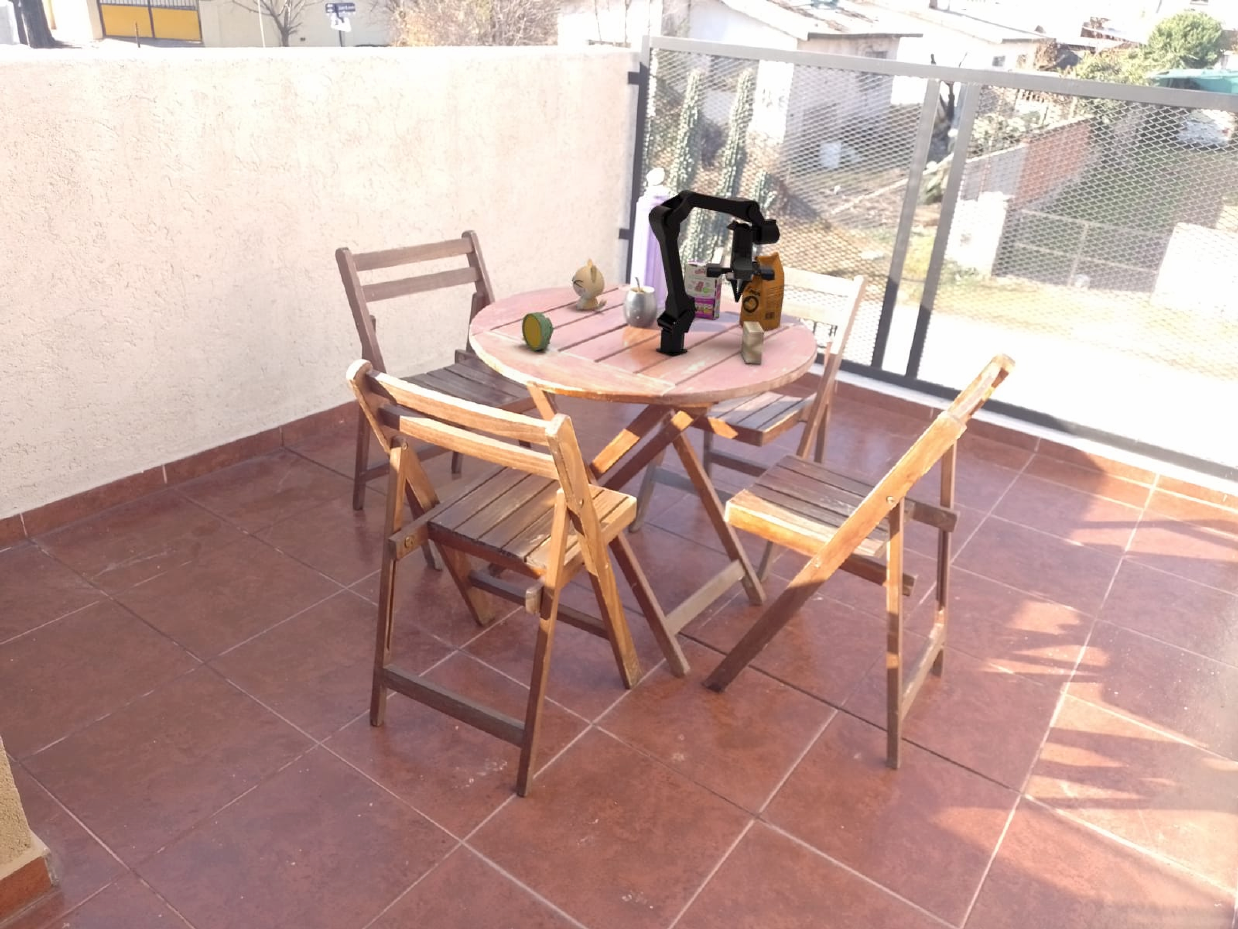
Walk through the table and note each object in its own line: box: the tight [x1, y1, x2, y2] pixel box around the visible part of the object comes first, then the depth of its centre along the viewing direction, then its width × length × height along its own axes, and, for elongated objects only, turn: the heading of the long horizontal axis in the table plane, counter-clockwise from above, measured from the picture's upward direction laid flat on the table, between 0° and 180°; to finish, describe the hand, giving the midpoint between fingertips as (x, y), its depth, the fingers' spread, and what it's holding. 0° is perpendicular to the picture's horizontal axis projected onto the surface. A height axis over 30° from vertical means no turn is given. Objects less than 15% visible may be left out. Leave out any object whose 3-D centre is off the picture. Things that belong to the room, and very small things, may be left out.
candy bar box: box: [683, 260, 724, 321], centre depth 279 cm, size 11×5×16 cm, turn 62°
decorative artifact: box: [521, 311, 555, 351], centre depth 244 cm, size 10×7×10 cm
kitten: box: [571, 258, 608, 311], centre depth 281 cm, size 15×10×15 cm
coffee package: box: [738, 251, 786, 332], centre depth 269 cm, size 10×12×22 cm
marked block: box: [740, 321, 765, 366], centre depth 243 cm, size 4×10×9 cm, turn 1°
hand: (736, 302), depth 252 cm, fingers closed
